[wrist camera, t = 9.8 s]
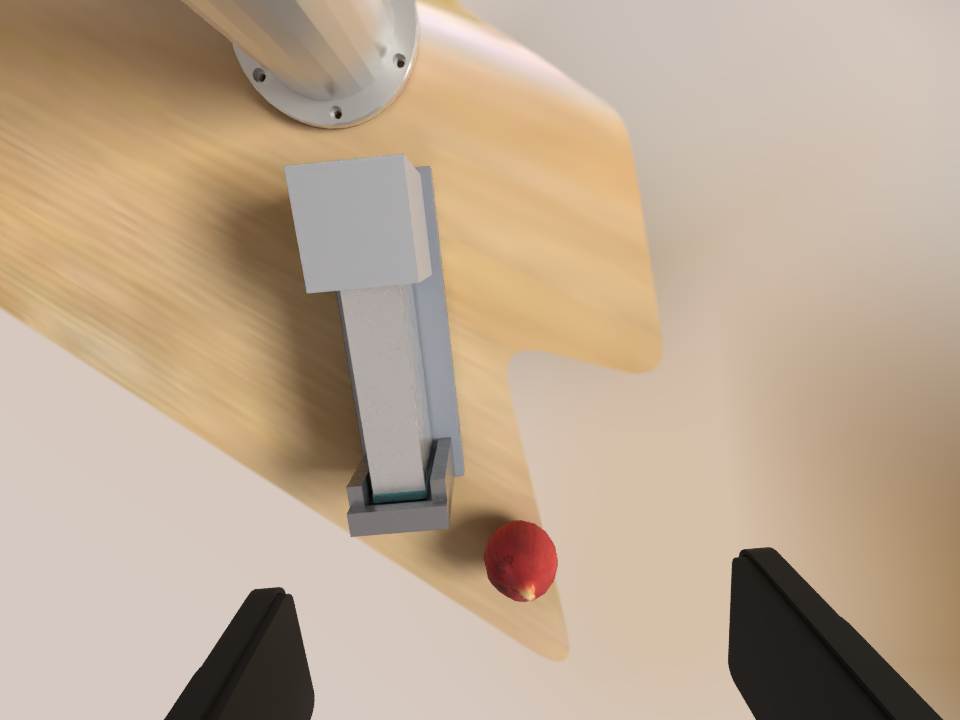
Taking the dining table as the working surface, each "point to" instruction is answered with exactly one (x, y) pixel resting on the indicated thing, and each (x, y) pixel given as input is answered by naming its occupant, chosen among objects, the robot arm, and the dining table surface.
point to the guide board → (380, 258)
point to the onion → (521, 561)
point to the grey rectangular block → (390, 390)
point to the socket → (403, 513)
